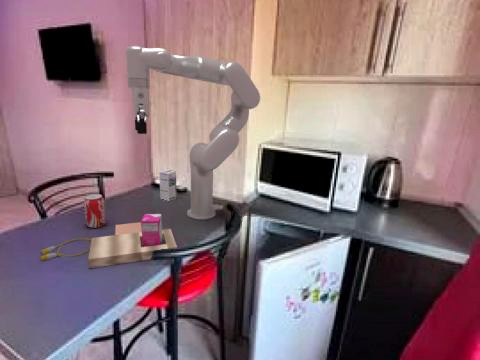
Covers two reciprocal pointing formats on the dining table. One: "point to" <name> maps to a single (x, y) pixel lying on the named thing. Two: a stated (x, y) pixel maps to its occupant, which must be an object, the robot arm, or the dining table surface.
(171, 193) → the syrup box
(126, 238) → the wooden cutout board
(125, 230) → the mat
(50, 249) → the extension cord
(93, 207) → the soda can
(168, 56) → the robot arm
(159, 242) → the supplement box
